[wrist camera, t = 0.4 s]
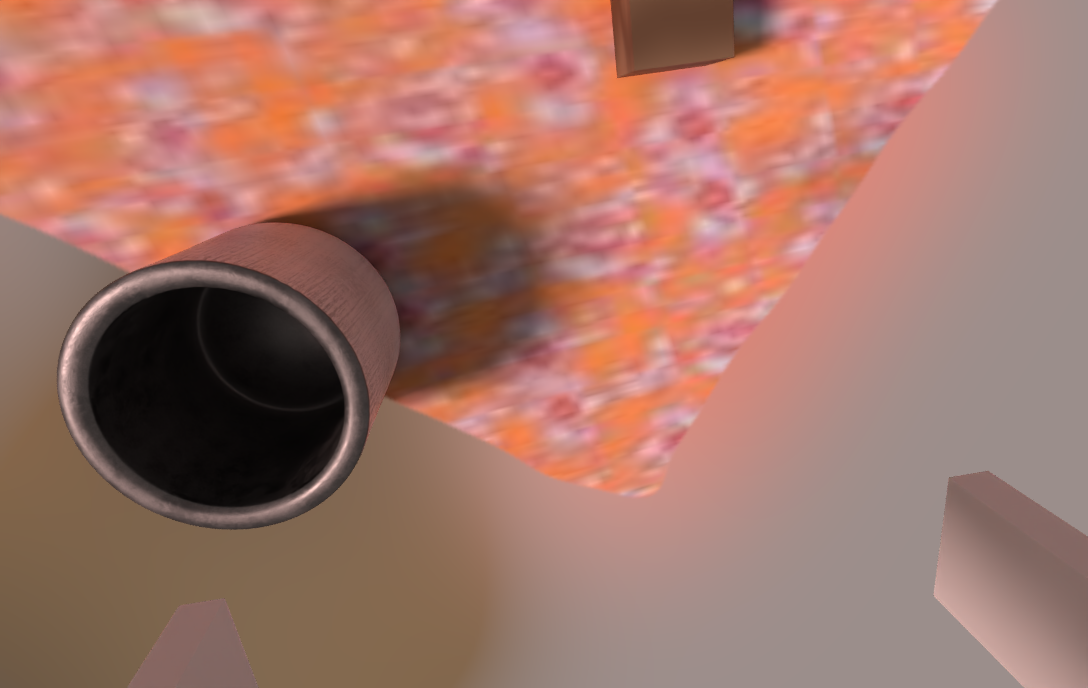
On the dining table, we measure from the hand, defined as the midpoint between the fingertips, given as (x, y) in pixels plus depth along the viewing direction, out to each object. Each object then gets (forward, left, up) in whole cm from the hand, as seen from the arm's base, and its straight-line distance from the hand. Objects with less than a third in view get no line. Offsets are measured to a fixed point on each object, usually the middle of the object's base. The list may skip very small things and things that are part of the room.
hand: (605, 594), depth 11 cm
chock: (-12, +10, -26) cm, 31 cm away
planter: (+1, -13, -27) cm, 30 cm away
